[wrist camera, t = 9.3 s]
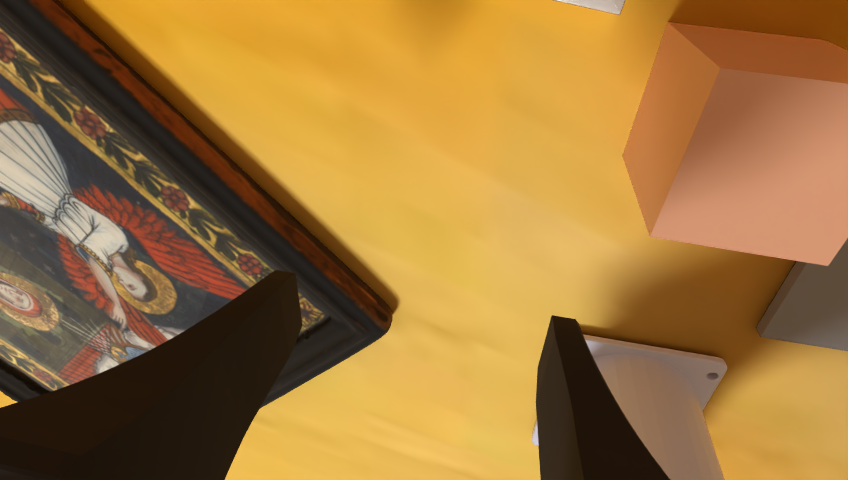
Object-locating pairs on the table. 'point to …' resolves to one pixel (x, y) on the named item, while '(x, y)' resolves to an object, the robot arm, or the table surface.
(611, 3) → the picture frame
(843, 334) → the grey board
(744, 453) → the table surface
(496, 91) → the table surface
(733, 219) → the terracotta block
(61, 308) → the framed painting
